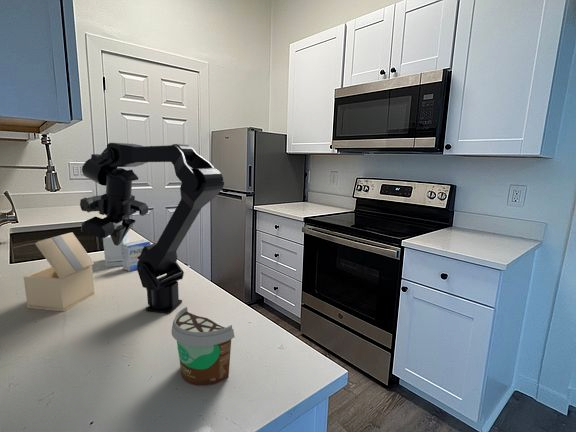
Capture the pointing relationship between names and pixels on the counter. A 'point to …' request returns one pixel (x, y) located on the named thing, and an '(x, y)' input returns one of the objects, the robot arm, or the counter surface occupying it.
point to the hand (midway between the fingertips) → (116, 244)
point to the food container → (202, 348)
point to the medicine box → (132, 254)
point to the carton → (58, 289)
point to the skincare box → (114, 251)
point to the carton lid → (64, 254)
